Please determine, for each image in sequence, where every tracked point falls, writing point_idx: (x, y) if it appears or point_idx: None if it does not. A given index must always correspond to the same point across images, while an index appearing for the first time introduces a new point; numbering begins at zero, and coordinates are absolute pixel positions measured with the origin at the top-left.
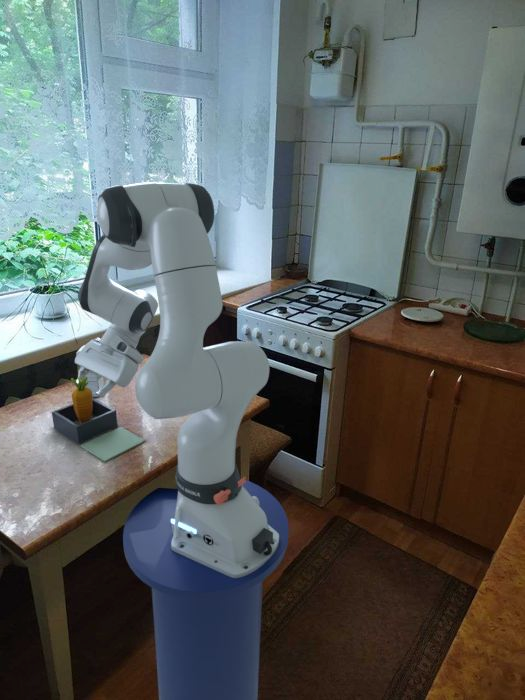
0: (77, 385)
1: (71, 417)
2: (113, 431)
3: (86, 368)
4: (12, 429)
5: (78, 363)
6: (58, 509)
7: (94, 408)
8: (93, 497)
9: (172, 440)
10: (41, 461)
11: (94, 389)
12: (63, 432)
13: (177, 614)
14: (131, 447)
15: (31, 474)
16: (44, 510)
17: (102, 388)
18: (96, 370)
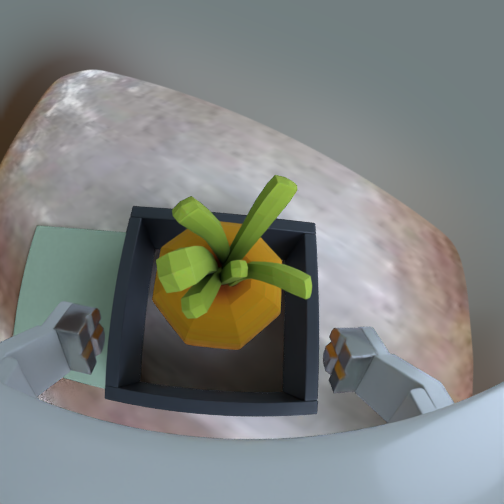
0: (236, 235)
1: (289, 308)
2: (105, 351)
3: (388, 423)
4: (363, 190)
5: (490, 392)
6: (51, 112)
7: (261, 396)
8: (16, 153)
9: None
10: (172, 145)
11: None
12: None
13: None
14: (17, 310)
15: (153, 117)
16: (69, 101)
17: (41, 329)
18: (171, 457)
